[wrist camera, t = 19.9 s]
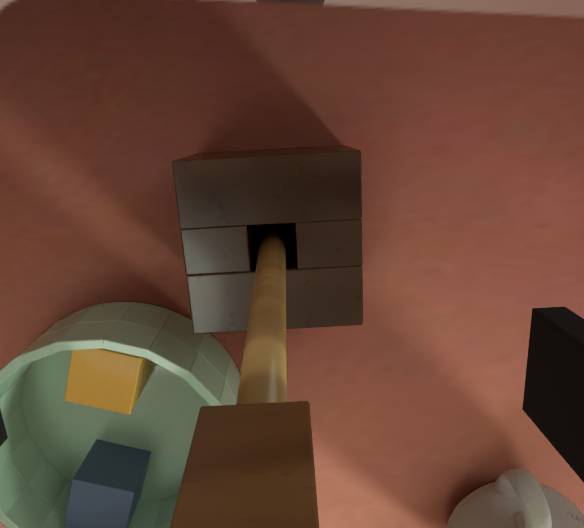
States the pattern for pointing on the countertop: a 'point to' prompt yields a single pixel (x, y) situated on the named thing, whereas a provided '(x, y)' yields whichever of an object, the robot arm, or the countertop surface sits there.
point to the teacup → (515, 505)
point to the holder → (272, 210)
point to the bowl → (103, 423)
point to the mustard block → (106, 379)
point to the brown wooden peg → (254, 427)
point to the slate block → (107, 486)
